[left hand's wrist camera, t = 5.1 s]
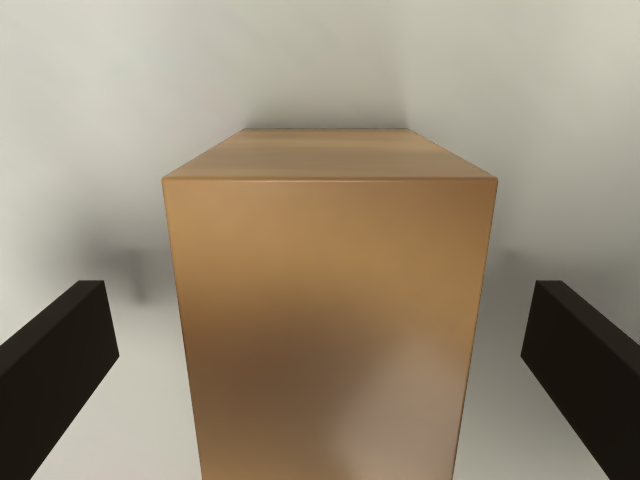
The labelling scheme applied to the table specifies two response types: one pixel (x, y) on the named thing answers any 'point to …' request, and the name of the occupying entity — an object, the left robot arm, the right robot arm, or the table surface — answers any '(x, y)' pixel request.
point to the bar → (328, 301)
